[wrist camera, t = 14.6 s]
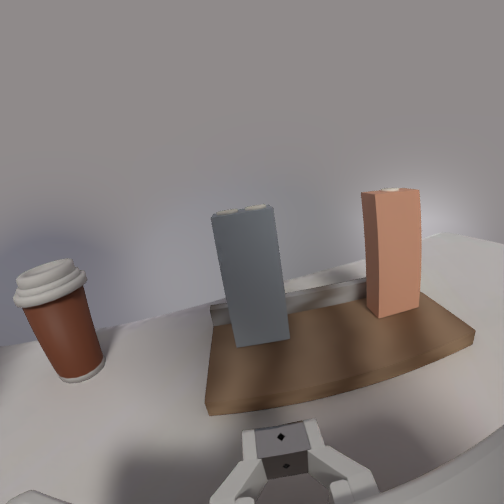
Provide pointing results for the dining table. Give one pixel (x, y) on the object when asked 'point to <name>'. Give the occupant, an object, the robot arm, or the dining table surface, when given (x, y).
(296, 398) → the board
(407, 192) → the tile one
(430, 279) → the dining table surface
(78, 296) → the coffee cup
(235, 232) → the tile two
